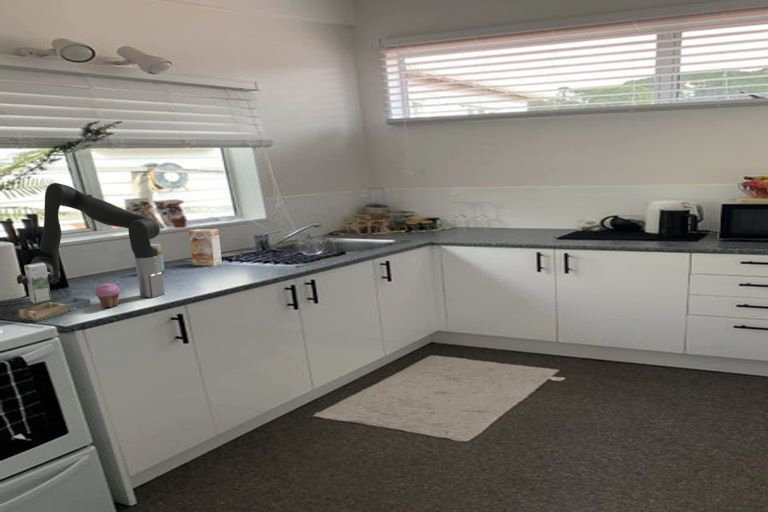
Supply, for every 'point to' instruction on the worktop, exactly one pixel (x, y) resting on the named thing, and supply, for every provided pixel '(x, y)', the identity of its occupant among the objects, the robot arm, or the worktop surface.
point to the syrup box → (37, 282)
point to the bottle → (159, 256)
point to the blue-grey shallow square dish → (75, 302)
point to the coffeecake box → (205, 247)
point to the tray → (42, 311)
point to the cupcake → (108, 294)
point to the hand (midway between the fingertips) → (36, 280)
